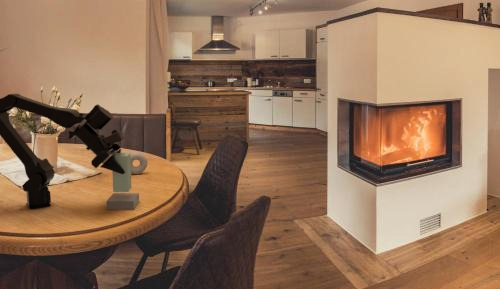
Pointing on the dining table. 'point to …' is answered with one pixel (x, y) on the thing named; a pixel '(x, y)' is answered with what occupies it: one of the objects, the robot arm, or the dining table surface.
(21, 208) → the dining table surface
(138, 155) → the donut
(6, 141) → the robot arm
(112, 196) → the slate plinth
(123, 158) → the sage green block
